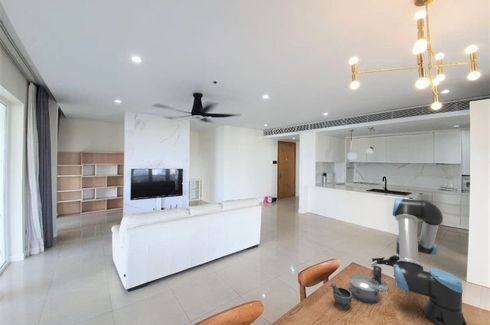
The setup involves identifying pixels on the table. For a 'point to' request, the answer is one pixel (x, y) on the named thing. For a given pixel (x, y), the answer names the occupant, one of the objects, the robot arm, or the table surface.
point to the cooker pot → (364, 288)
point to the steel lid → (379, 278)
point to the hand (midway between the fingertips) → (382, 269)
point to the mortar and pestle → (341, 296)
